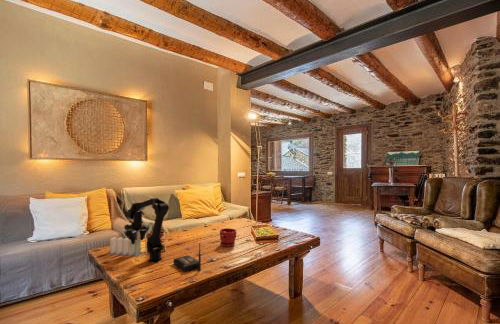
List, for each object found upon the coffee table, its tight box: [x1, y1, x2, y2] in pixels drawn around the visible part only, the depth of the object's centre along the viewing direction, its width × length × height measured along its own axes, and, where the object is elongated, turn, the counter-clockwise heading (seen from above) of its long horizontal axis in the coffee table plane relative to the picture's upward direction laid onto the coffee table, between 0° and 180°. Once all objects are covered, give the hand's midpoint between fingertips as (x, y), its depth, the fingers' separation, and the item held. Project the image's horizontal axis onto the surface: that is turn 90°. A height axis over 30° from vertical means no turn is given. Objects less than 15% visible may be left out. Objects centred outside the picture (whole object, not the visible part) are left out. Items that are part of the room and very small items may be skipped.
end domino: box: [109, 236, 118, 253], centre depth 182 cm, size 1×5×10 cm, turn 168°
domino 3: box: [128, 239, 134, 255], centre depth 179 cm, size 1×5×10 cm, turn 168°
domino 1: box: [116, 237, 124, 254], centre depth 181 cm, size 1×5×10 cm, turn 168°
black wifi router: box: [173, 243, 202, 273], centre depth 157 cm, size 20×14×17 cm
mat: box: [105, 251, 145, 258], centre depth 180 cm, size 25×9×1 cm, turn 78°
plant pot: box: [219, 228, 237, 247], centre depth 200 cm, size 13×13×12 cm
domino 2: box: [122, 237, 130, 254], centre depth 180 cm, size 1×5×10 cm, turn 168°
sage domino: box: [134, 238, 142, 255], centre depth 178 cm, size 1×5×10 cm, turn 168°
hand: (137, 242), depth 178 cm, fingers open, 9 cm apart
